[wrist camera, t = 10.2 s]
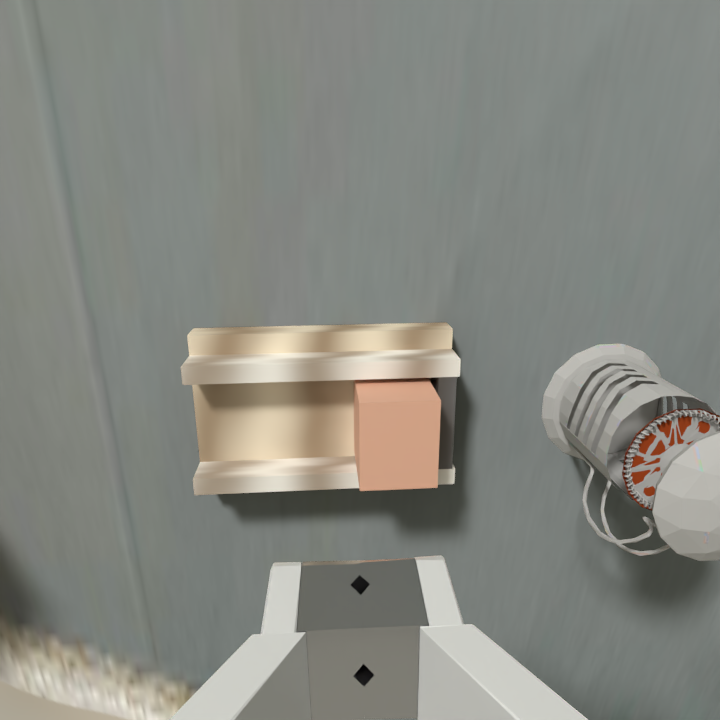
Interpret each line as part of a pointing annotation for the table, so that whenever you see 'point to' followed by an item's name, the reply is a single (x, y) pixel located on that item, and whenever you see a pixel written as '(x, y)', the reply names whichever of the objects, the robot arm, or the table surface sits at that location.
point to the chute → (303, 399)
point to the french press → (641, 444)
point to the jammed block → (396, 433)
